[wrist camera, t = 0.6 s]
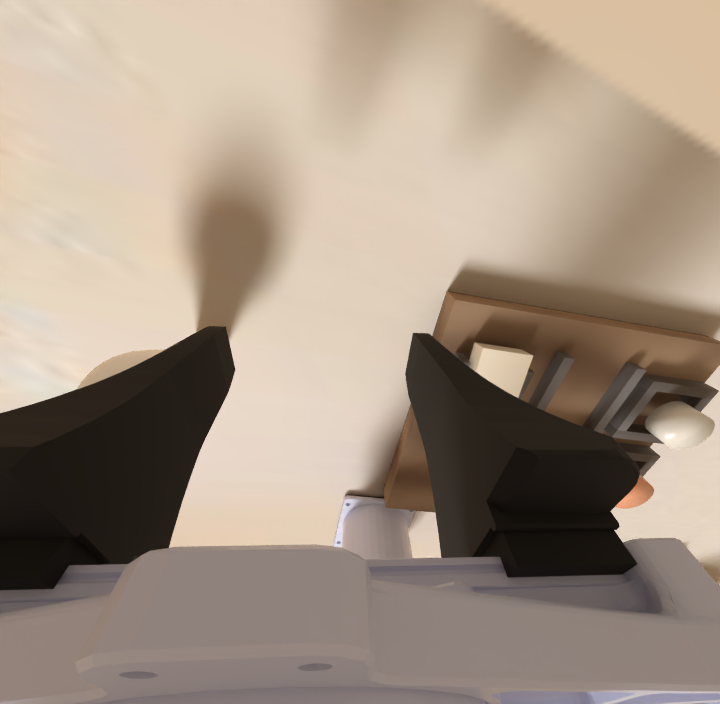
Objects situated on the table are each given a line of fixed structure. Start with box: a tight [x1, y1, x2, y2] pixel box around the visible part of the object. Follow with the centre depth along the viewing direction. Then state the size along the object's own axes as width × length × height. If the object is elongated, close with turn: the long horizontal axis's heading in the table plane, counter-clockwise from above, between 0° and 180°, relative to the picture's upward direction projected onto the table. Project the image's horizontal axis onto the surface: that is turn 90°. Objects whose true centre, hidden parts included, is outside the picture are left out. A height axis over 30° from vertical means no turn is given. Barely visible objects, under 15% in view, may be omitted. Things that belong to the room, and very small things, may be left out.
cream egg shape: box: [645, 401, 715, 450], centre depth 22 cm, size 3×3×2 cm
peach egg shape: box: [616, 475, 654, 509], centre depth 26 cm, size 3×3×2 cm
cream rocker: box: [469, 342, 533, 398], centre depth 21 cm, size 5×4×1 cm
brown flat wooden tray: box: [383, 292, 720, 512], centre depth 26 cm, size 22×22×4 cm
